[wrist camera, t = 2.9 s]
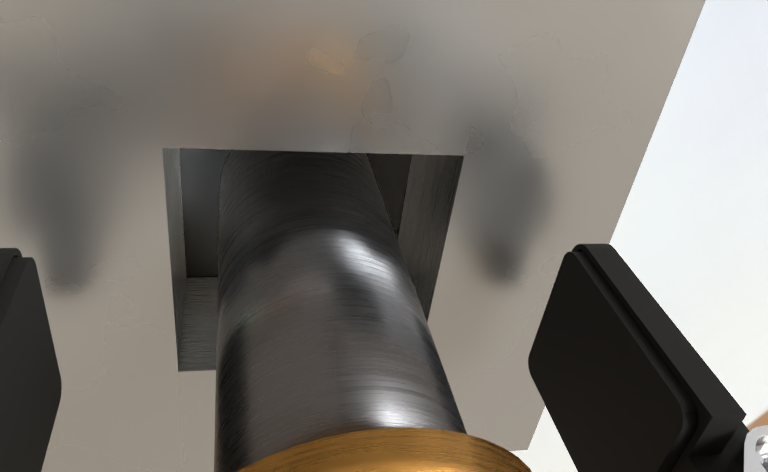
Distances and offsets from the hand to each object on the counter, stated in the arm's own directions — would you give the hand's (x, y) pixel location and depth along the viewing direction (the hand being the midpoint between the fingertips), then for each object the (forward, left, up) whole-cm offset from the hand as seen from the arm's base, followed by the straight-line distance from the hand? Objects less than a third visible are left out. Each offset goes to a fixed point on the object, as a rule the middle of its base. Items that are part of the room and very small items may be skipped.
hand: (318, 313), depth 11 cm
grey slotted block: (0, 0, -4) cm, 4 cm away
